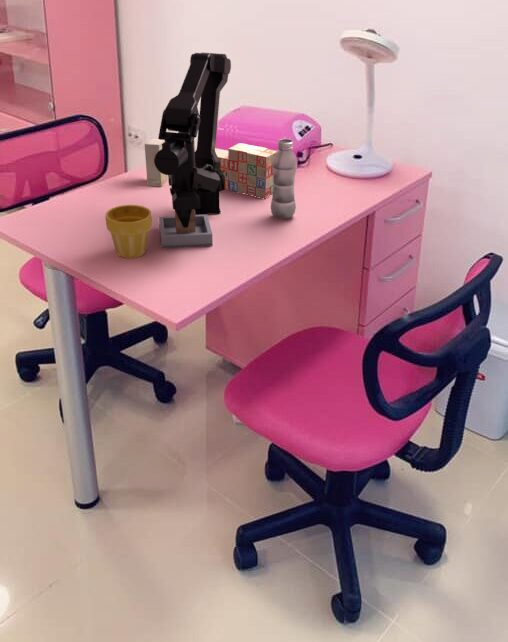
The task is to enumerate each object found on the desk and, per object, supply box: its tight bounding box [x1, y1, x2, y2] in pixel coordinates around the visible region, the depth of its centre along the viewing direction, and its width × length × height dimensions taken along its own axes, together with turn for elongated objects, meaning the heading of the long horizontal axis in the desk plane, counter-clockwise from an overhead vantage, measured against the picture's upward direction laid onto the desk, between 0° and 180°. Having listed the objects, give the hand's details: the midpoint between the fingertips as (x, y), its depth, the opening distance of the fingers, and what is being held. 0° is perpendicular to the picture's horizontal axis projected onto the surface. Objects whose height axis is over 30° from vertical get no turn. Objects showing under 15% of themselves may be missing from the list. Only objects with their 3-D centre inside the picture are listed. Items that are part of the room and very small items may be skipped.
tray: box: [158, 214, 214, 249], centre depth 176 cm, size 12×12×3 cm
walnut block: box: [174, 209, 196, 233], centre depth 174 cm, size 4×4×6 cm
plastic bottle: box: [270, 138, 298, 220], centre depth 183 cm, size 6×7×20 cm
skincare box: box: [144, 137, 168, 187], centre depth 205 cm, size 6×4×12 cm
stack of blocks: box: [215, 142, 278, 200], centre depth 202 cm, size 21×6×12 cm, turn 58°
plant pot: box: [104, 204, 153, 259], centre depth 166 cm, size 10×10×10 cm
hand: (184, 223), depth 175 cm, fingers closed on walnut block, 4 cm apart
